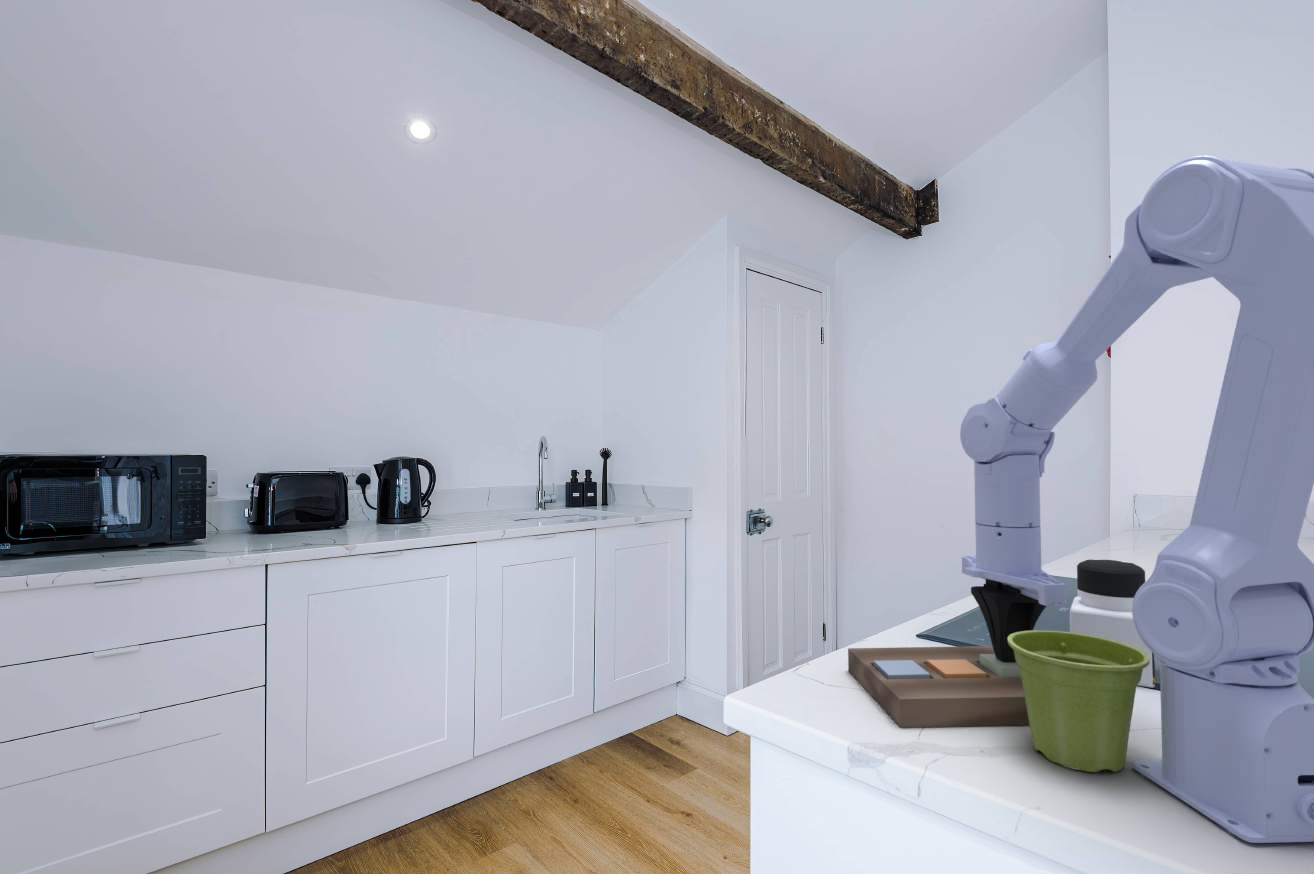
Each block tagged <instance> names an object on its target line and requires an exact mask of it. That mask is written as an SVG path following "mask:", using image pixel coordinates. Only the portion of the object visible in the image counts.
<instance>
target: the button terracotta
mask: <svg viewBox="0 0 1314 874" xmlns="http://www.w3.org/2000/svg"><path fill="white" fill-rule="evenodd" d="M927 666H929V667H930V668H931V669H932V670H934V671H935V672H936V673H938V674H939V675H940V676H942V677H943V678H987V675H986V673H985V672H984V671H982V670H981V669H979V668H978V667H976V666H975V665H973V664H972V663H970V662H968V661H967V660H965V659H955V660H927Z"/></svg>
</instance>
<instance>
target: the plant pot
mask: <svg viewBox="0 0 1314 874" xmlns="http://www.w3.org/2000/svg"><path fill="white" fill-rule="evenodd" d="M1007 639H1008V644H1009V645H1010V647H1011V648H1013V650H1014V655H1015V660H1016V662H1017V664H1018V665H1019V668H1020V674H1021V679H1022V684H1023V690H1024V696H1025V701H1026V707H1027V713H1028V719H1029V725H1028V726H1029V730H1030V736H1031V743H1032V747H1033V748H1034V749H1035V751H1036V752H1037V751H1038V752H1039V751H1040V752H1041V753H1042V754H1043V755H1044V757H1046V758H1047V759H1048V760H1049V761H1051V762H1054V763H1055V764H1058V765H1061V766H1064V767H1068V768H1071V769H1074V770H1078V771H1082V772H1087V773H1088V772H1089V773H1098V772H1100V771H1102V770H1110V771H1111V772H1114V773H1116V772H1119V771H1120V770H1123V768H1124V767H1125V765H1126V758H1127V752H1128V751H1127V750H1128V746H1129V745H1128V743H1129V738H1130V737H1129V736H1130V731H1131V723H1132V717H1133V711H1134V704H1135V698H1136V692H1137V686H1138V685H1137V684H1138V683H1139V682H1140V680H1141V676H1142V670H1143V668H1145V667H1147V666H1148V665H1149V661H1150V659H1149V656H1148V655H1147V654H1146V653H1145V652H1143V651H1141V650H1139V649H1137V648H1135V647H1132V646H1130V645H1127V644H1124V643H1121V642H1117V641H1114V640H1110V639H1105V638H1101V637H1097V636H1091V635H1085V634H1079V633H1072V632H1070V631H1063V630H1045V629H1042V630H1038V629H1037V630H1036V629H1035V630H1034V629H1033V630H1031V631H1021V632H1016V633H1013V634H1010V635H1009V636H1008V638H1007Z"/></svg>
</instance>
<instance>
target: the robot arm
mask: <svg viewBox="0 0 1314 874" xmlns="http://www.w3.org/2000/svg"><path fill="white" fill-rule="evenodd" d="M1211 278H1213V279H1215V280H1216V281H1217V282H1218V283H1219V284H1221V285H1222V286H1223V287H1224V288H1225V289H1226V290H1227V291H1229V292H1230V293H1231V294H1232V295H1234V297H1236V298H1237V300H1238V301H1239V303H1240V306H1239V312H1238V316H1237V319H1236V324H1235V328H1234V332H1233V333H1234V334H1233V336H1232V337H1233V338H1232V341H1231V346H1230V350H1229V354H1228V359H1227V362H1226V363H1227V364H1226V368H1225V371H1224V375H1223V381H1222V385H1221V389H1220V393H1219V397H1218V401H1217V406H1216V410H1215V414H1214V415H1215V416H1214V419H1213V424H1212V428H1211V431H1210V432H1211V433H1210V435H1209V441H1208V445H1207V450H1206V454H1205V457H1204V463H1203V467H1202V470H1201V475H1200V480H1199V483H1198V489H1197V492H1196V497H1195V501H1194V505H1193V509H1192V514H1191V519H1190V523H1189V525H1188V526H1187V528H1185V529H1184V530H1183V531H1182V532H1181V533H1180V534H1178V535H1177V536H1176V537H1175V538H1174V539H1173V540H1172V541H1170V542H1169V543H1168V544H1167V545H1166V546H1165V547H1164V548H1163V549H1161V551H1159V552H1158V554H1157V557H1156V560H1155V561H1156V562H1155V564H1154V569H1153V571H1152V573H1151V575H1150V576H1149V578H1148V579H1146V580H1145V583H1144V584H1143V585H1142V586H1141V587H1140V588H1139V589H1138V591H1137V592H1136V594H1135V597H1134V599H1133V604H1132V615H1133V621H1134V624H1135V627H1136V630H1137V632H1138V634H1139V636H1140V637H1141V639H1142V641H1143V642H1144V643H1145V645H1146V646H1147V647H1148V648H1149V649H1150V650H1151V651H1152V652H1153V653H1154V662H1155V664H1158V665H1159V679H1160V680H1159V682H1160V716H1161V717H1160V720H1161V723H1160V724H1161V725H1160V727H1161V757H1162V759H1135V760H1134V759H1133V760H1131V768H1133V769H1134V770H1135V771H1137V772H1139V773H1140V774H1141V775H1143V776H1144V777H1146V778H1147V779H1149V780H1151V781H1152V782H1154V783H1155V784H1157V785H1158V786H1160V787H1162V788H1163V789H1164V790H1165V791H1168V792H1169V793H1171V794H1172V795H1174V796H1175V797H1177V798H1179V800H1182V801H1183V802H1185V803H1186V804H1188V805H1189V806H1191V807H1192V808H1193V809H1195V810H1197V811H1198V812H1199V813H1201V814H1202V815H1204V816H1206V817H1207V818H1209V819H1210V820H1212V821H1214V822H1215V823H1217V824H1218V825H1219V826H1221V827H1223V828H1224V829H1225V830H1227V831H1228V832H1230V833H1232V834H1233V835H1235V836H1236V837H1238V838H1240V839H1241V840H1243V841H1244V842H1248V843H1250V844H1252V843H1253V844H1271V843H1276V844H1277V843H1280V844H1281V843H1312V842H1314V698H1313V697H1312V696H1311V695H1310V694H1308V693H1307V692H1306V691H1305V689H1304V688H1303V687H1302V686H1301V684H1300V683H1299V681H1298V680H1299V673H1300V672H1301V669H1300V668H1301V667H1300V666H1301V664H1300V663H1301V662H1300V656H1302V655H1305V654H1306V653H1307V654H1308V653H1309V652H1310V651H1311V650H1313V648H1314V562H1313V561H1312V560H1310V558H1308V557H1307V555H1306V554H1305V553H1304V552H1303V551H1302V550H1301V549H1300V547H1299V546H1298V543H1299V539H1300V535H1301V532H1302V529H1303V525H1304V521H1305V517H1306V513H1307V510H1308V506H1309V503H1310V500H1311V499H1310V498H1311V496H1312V495H1311V494H1312V491H1313V488H1314V172H1313V171H1312V170H1308V169H1304V168H1282V167H1281V168H1280V167H1274V166H1266V165H1260V164H1252V163H1248V162H1247V163H1246V162H1240V161H1234V160H1228V159H1225V158H1223V157H1220V156H1217V155H1207V154H1206V155H1205V154H1204V155H1196V156H1192V157H1188V158H1185V159H1183V160H1180V161H1178V162H1177V163H1174V164H1173V165H1171V166H1170V167H1169V168H1167V169H1165V170H1164V171H1163V172H1162V173H1161V174H1160V175H1159V176H1158V177H1157V178H1156V179H1155V180H1154V182H1153V183H1152V184H1151V185H1150V187H1149V188H1148V190H1147V192H1146V193H1145V195H1144V197H1143V199H1142V201H1141V203H1139V204H1138V205H1137V206H1136V207H1135V208H1134V210H1133V211H1131V212H1130V214H1129V215H1128V216H1127V217H1126V218H1125V221H1124V232H1123V245H1122V246H1121V249H1120V250H1119V251H1118V253H1117V254H1116V256H1115V257H1114V259H1112V261H1111V263H1110V264H1109V266H1108V267H1107V268H1106V270H1105V271H1104V273H1103V275H1101V277H1100V279H1099V280H1098V282H1096V285H1095V286H1094V288H1093V289H1092V290H1091V292H1090V293H1089V294H1088V296H1087V297H1086V299H1085V300H1084V302H1083V303H1082V305H1081V306H1080V308H1079V309H1078V310H1077V312H1076V313H1075V315H1074V316H1073V317H1072V319H1071V321H1070V322H1069V323H1068V325H1067V326H1066V328H1065V329H1064V331H1063V332H1062V334H1061V335H1060V336H1059V338H1058V339H1056V340H1054V341H1051V342H1042V343H1040V344H1038V345H1036V346H1034V348H1030V349H1028V351H1027V352H1026V353H1025V355H1023V357H1022V360H1023V362H1022V363H1021V365H1020V366H1019V367H1018V369H1016V371H1015V372H1014V373H1013V374H1012V376H1011V377H1010V378H1009V379H1008V381H1007V382H1006V383H1005V385H1004V386H1003V387H1002V388H1001V389H1000V390H999V391H998V393H997V394H996V395H995V397H992V398H991V397H990V398H989V399H988V400H987V401H986V402H982V403H981V402H980V403H976V404H975V405H974V404H973V405H972V406H971V407H970V408H968V410H967V413H966V414H965V415H964V418H963V420H962V422H961V424H960V431H959V432H960V434H959V437H960V443H961V446H962V449H963V450H964V452H965V454H966V455H967V457H969V458H970V459H972V460H973V464H974V465H973V468H974V470H973V471H974V515H975V516H974V521H975V525H974V526H975V527H974V528H975V555H962V556H961V573H962V574H964V575H966V576H970V577H972V578H980V579H981V580H982V579H983V580H985V583H983V586H982V585H981V586H980V585H979V586H977V585H976V586H971V587H970V593H971V595H972V596H973V599H975V602H976V603H977V605H978V607H979V609H980V611H981V613H982V615H983V616H982V617H983V619H984V621H985V624H986V627H987V630H988V633H989V637H990V641H991V644H992V645H991V646H993V649H994V653H995V656H996V658H997V659H998V660H1000V661H1002V662H1004V663H1017V662H1016V660H1015V655H1014V650H1013V648H1011V647H1010V645H1009V644H1008V639H1007V638H1008V636H1009V635H1010V634H1013V633H1016V632H1021V631H1031V630H1034V628H1035V627H1036V623H1037V621H1038V619H1040V616H1041V614H1042V613H1044V611H1045V609H1046V608H1047V607H1053V606H1054V607H1058V606H1059V607H1063V606H1067V605H1068V603H1067V601H1068V598H1067V597H1068V596H1067V594H1068V592H1067V584H1066V583H1063V582H1061V581H1058V580H1057V579H1055V578H1054V577H1052V576H1051V575H1050V574H1048V573H1047V572H1045V571H1044V570H1043V569H1042V539H1041V538H1042V536H1041V535H1042V534H1041V494H1040V493H1041V490H1040V489H1041V487H1040V486H1041V485H1040V484H1041V482H1040V480H1041V479H1040V478H1042V477H1043V473H1045V462H1046V461H1045V460H1046V458H1047V456H1048V455H1049V453H1050V452H1051V450H1052V448H1053V445H1054V441H1055V437H1056V436H1055V431H1052V430H1053V429H1054V427H1056V426H1057V425H1058V424H1059V422H1060V421H1061V420H1062V419H1063V418H1064V417H1065V416H1066V415H1067V413H1069V412H1070V410H1071V409H1072V408H1073V407H1074V406H1075V405H1076V404H1077V403H1078V401H1080V399H1081V398H1082V397H1083V396H1085V394H1086V393H1087V392H1088V391H1089V390H1090V389H1091V387H1093V385H1095V383H1096V382H1097V380H1098V370H1097V364H1096V361H1097V360H1098V359H1099V358H1100V357H1101V356H1102V355H1103V354H1104V353H1105V352H1106V351H1107V350H1108V349H1109V348H1111V346H1112V345H1114V343H1115V342H1116V341H1118V339H1119V338H1121V336H1123V334H1124V333H1125V332H1127V331H1128V330H1129V328H1130V327H1131V326H1133V324H1135V323H1136V322H1137V321H1138V320H1139V319H1140V318H1141V317H1142V316H1143V315H1144V314H1145V313H1146V312H1147V311H1148V310H1149V309H1150V308H1151V307H1152V306H1153V305H1154V304H1155V303H1156V302H1157V301H1159V299H1161V297H1162V296H1163V295H1164V294H1165V293H1166V292H1167V291H1169V290H1171V289H1172V288H1174V287H1178V286H1183V285H1186V284H1189V283H1194V282H1198V281H1202V280H1206V279H1211Z"/></svg>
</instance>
